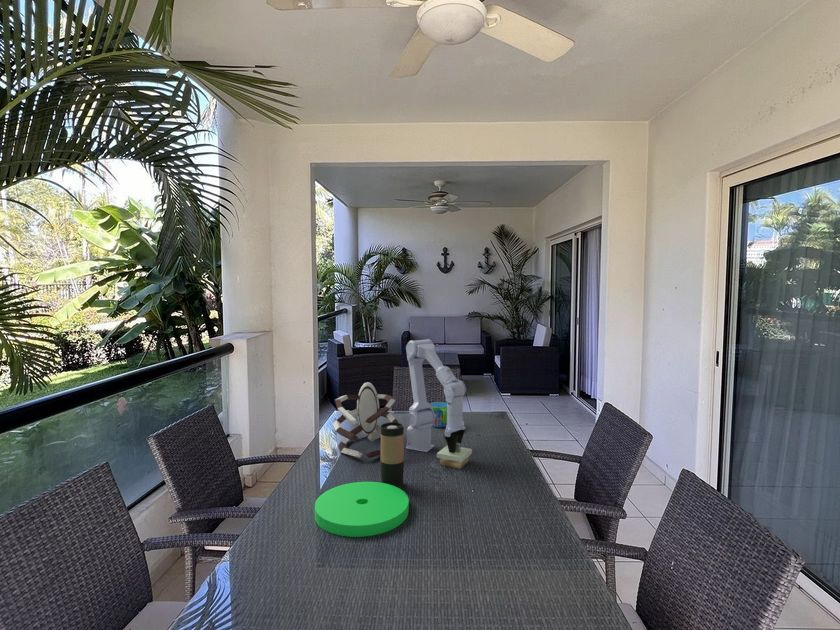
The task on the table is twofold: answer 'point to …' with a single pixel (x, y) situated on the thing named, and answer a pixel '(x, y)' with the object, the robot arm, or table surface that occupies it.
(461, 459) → the lid
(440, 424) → the snack cup
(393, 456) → the travel mug
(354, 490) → the disc
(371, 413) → the decorative sculpture
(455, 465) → the box
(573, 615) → the table surface
